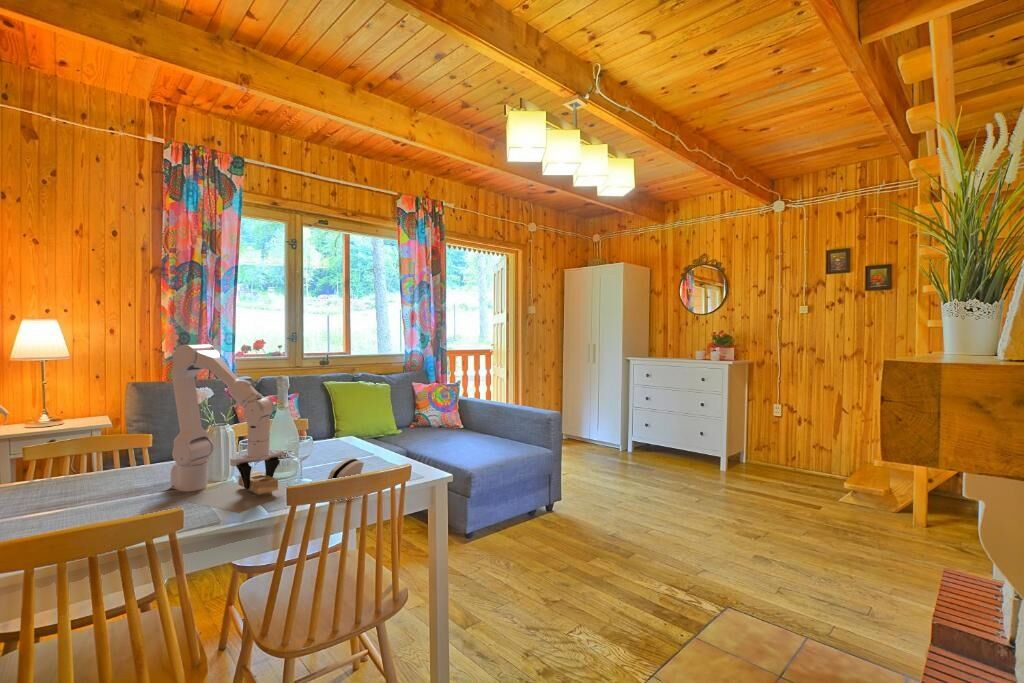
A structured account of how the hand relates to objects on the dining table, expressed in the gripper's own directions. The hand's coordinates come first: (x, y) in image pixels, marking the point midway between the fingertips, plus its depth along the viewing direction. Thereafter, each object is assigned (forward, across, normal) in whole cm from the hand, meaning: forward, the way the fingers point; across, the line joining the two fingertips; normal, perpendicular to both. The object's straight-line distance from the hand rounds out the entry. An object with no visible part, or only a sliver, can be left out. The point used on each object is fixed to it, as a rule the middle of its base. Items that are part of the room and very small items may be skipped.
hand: (257, 485), depth 145 cm
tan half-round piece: (+4, +22, -9) cm, 24 cm away
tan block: (0, 0, 0) cm, 0 cm away
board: (+3, -4, +1) cm, 5 cm away
